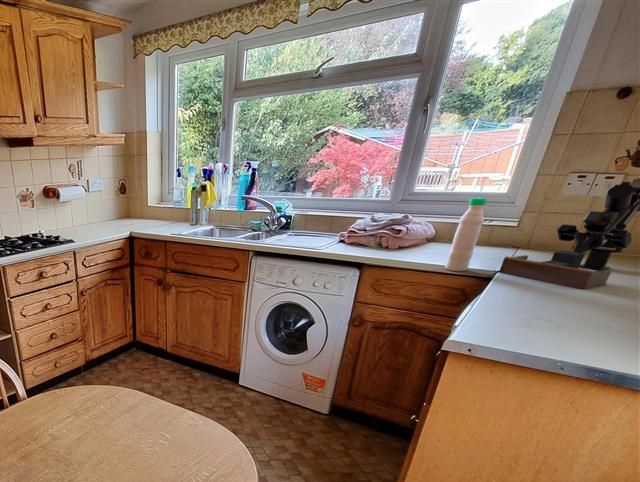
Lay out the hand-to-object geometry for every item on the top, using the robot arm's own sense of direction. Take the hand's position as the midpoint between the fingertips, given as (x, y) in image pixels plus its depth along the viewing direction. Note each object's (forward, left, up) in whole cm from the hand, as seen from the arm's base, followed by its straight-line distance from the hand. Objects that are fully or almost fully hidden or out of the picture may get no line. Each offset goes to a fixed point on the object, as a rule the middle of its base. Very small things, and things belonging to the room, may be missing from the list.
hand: (574, 255), depth 149 cm
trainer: (+7, 0, -7) cm, 10 cm away
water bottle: (+24, -22, -7) cm, 33 cm away
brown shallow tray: (+9, 0, -7) cm, 11 cm away
